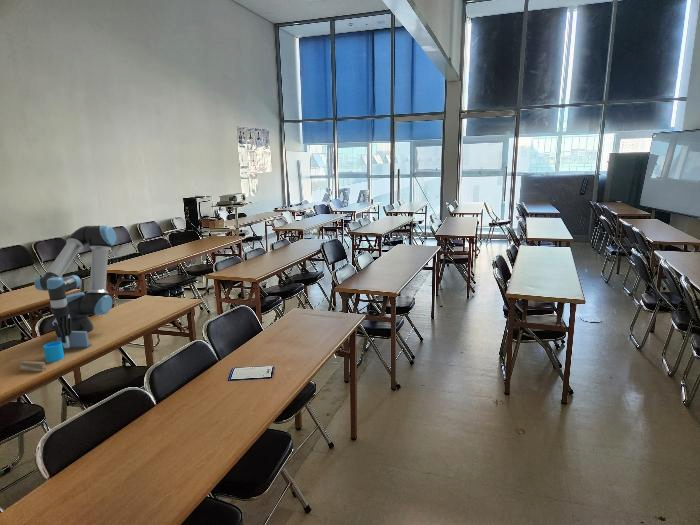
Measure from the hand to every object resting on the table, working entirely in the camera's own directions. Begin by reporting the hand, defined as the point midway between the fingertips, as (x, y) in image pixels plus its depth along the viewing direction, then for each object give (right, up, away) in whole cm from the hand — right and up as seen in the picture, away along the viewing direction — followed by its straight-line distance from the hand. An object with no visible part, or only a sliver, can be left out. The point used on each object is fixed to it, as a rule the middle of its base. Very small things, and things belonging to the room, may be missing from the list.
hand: (66, 347), depth 245 cm
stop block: (-3, -7, -21) cm, 23 cm away
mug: (-1, -4, -7) cm, 8 cm away
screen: (0, -1, +6) cm, 6 cm away
